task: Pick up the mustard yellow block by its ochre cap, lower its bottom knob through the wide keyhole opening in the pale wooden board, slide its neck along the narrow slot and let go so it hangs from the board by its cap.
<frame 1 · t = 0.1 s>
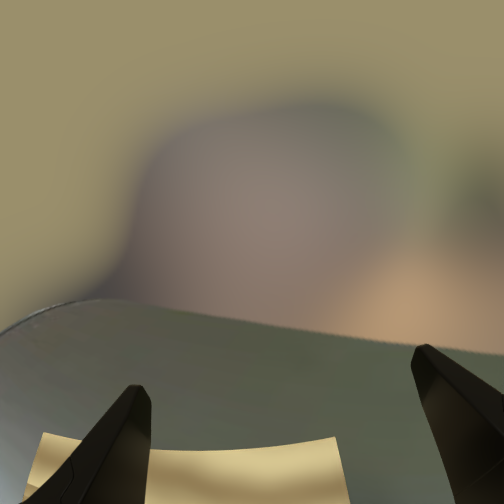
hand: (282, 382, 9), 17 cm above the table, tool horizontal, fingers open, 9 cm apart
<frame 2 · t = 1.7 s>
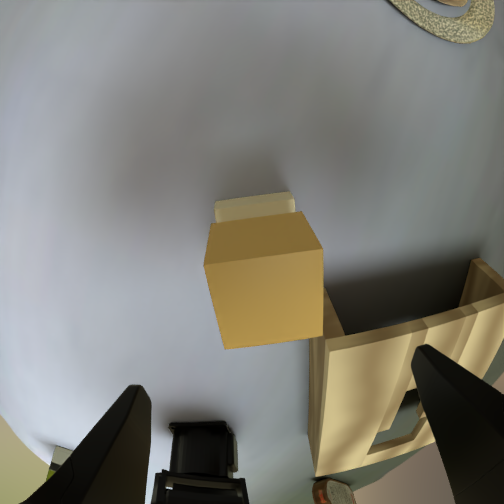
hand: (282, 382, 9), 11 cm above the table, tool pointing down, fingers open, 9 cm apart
keyhole board: (387, 367, 26), on the table
mustard yellow block: (257, 230, 19), on the table
tin: (333, 481, 43), on the table
tea box: (92, 466, 38), on the table
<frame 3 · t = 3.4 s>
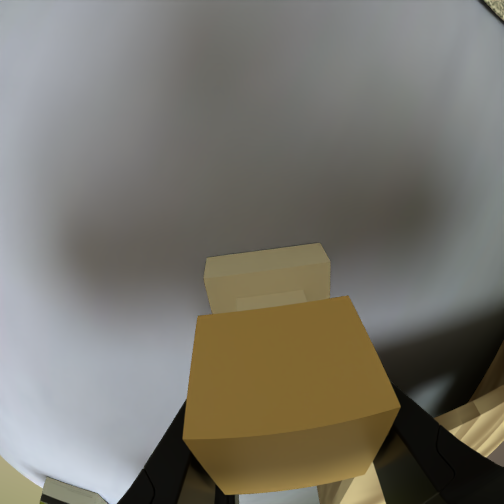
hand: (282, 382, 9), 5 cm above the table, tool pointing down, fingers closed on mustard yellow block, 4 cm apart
keyhole board: (411, 422, 20), on the table
mustard yellow block: (269, 296, 13), on the table, touching gripper
tea box: (85, 495, 32), on the table
when the fingers open (8 cm above the table, at t = 11.5 s): mustard yellow block stays where it is, resting on keyhole board.
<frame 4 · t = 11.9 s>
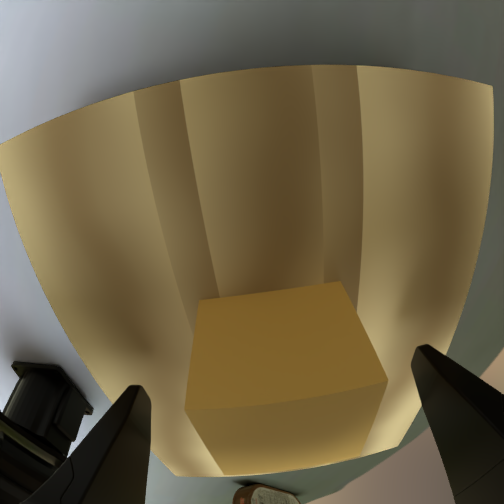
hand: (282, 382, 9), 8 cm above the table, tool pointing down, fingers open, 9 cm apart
keyhole board: (268, 298, 17), on the table
mustard yellow block: (267, 286, 13), point 2 cm above the table, touching keyhole board
tin: (271, 488, 34), on the table
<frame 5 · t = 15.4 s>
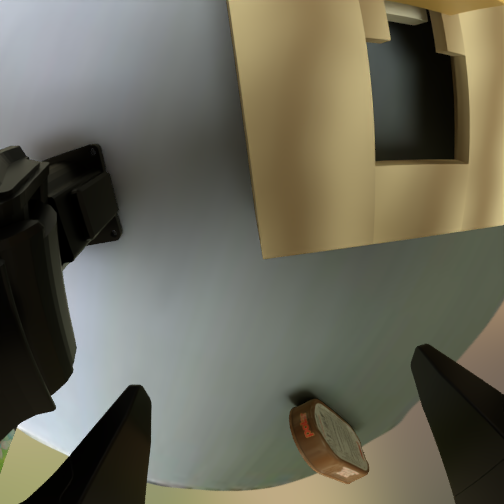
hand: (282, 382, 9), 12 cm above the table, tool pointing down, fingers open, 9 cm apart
keyhole board: (364, 32, 14), on the table
tin: (327, 413, 31), on the table
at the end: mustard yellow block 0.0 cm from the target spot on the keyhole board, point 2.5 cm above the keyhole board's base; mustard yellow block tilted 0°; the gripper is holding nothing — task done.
